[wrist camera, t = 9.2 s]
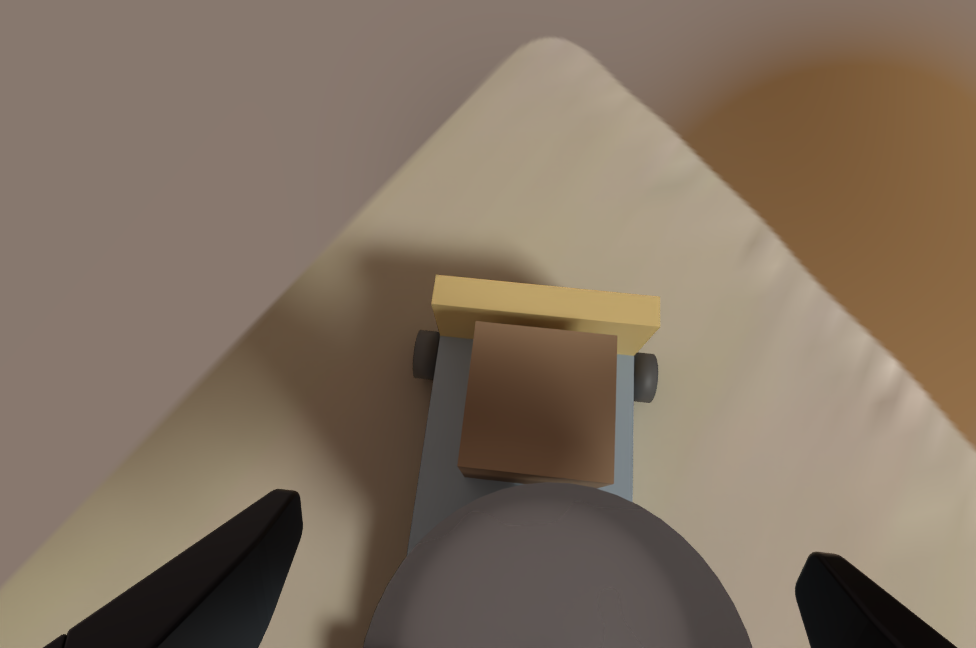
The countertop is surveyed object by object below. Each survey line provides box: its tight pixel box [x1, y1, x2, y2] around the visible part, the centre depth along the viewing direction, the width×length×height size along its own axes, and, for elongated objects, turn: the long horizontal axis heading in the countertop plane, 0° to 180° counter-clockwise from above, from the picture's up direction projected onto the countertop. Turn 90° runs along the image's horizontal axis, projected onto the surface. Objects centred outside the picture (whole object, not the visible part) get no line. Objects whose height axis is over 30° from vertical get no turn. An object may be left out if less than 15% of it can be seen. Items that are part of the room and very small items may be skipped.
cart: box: [407, 275, 660, 556], centre depth 16 cm, size 14×9×5 cm, turn 174°
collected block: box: [457, 321, 617, 488], centre depth 16 cm, size 4×4×4 cm
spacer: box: [363, 482, 752, 648], centre depth 11 cm, size 4×4×11 cm
